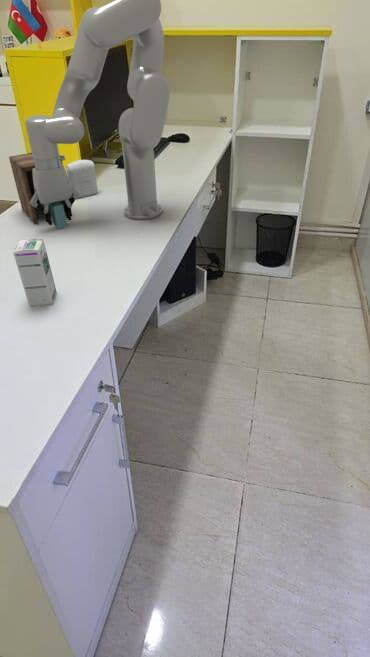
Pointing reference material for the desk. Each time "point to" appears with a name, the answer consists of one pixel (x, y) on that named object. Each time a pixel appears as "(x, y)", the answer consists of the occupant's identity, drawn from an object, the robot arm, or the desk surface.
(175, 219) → the desk surface
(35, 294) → the syrup box
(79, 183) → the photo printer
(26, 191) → the walnut cubby
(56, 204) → the teal and black gadget
